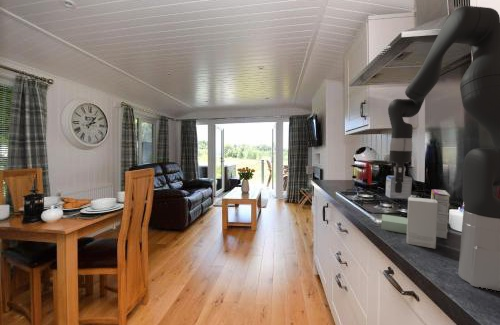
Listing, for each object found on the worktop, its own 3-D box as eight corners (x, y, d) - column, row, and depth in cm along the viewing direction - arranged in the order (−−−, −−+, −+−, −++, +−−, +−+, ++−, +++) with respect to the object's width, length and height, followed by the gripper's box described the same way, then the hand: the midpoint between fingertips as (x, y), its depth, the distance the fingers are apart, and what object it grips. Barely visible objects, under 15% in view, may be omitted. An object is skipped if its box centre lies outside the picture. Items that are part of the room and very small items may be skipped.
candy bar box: (428, 228, 98) (431, 188, 97) (443, 230, 96) (446, 190, 94) (430, 236, 89) (434, 193, 88) (448, 239, 86) (451, 195, 85)
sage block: (410, 235, 91) (411, 224, 91) (381, 230, 96) (381, 220, 96) (408, 227, 100) (409, 218, 99) (381, 223, 105) (382, 214, 105)
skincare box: (434, 243, 83) (437, 199, 82) (435, 250, 77) (439, 203, 76) (405, 237, 87) (408, 196, 86) (405, 243, 82) (408, 199, 81)
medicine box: (405, 196, 99) (406, 176, 98) (411, 199, 94) (412, 177, 94) (385, 195, 100) (386, 175, 99) (389, 198, 95) (391, 176, 95)
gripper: (413, 150, 87) (410, 195, 89) (410, 149, 100) (407, 189, 101) (389, 149, 91) (387, 193, 92) (389, 149, 104) (387, 187, 105)
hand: (398, 191), depth 97 cm, fingers closed on medicine box, 5 cm apart
